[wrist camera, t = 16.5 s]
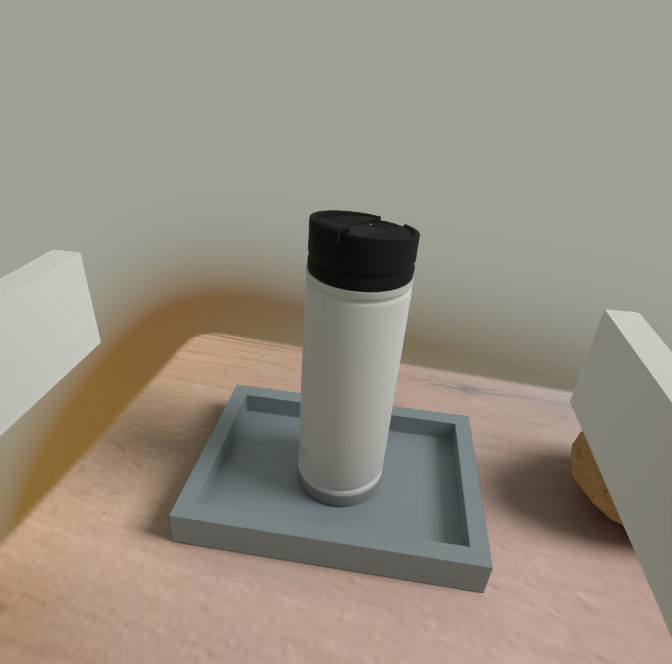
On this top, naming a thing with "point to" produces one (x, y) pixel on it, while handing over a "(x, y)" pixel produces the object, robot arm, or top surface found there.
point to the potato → (591, 478)
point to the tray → (340, 521)
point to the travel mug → (351, 350)
